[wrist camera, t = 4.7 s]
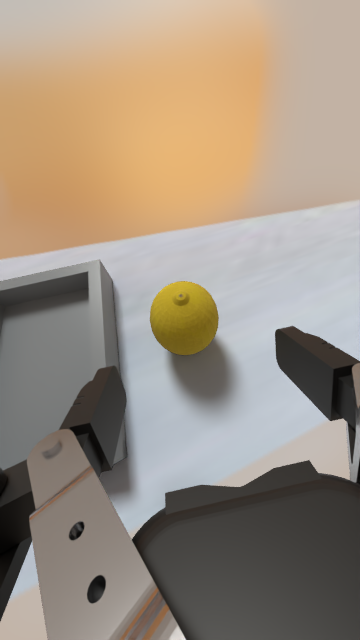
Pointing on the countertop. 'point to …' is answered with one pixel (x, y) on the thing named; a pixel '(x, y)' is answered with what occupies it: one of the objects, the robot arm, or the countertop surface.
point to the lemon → (184, 318)
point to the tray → (52, 351)
